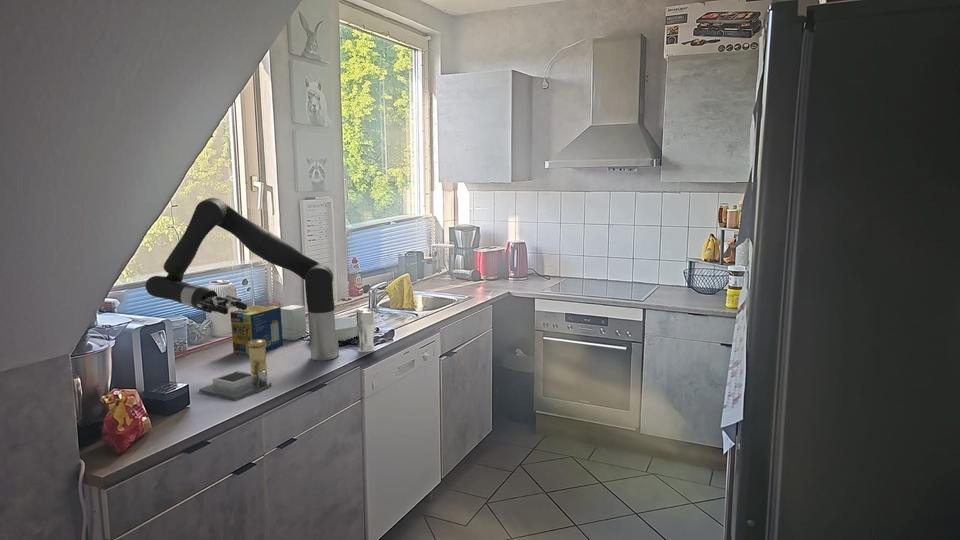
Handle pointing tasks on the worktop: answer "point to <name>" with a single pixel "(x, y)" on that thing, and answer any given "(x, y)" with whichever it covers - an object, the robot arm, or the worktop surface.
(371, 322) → the beer glass
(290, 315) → the supplement box
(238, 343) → the protein box
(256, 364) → the gold metal cylinder
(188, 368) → the worktop surface
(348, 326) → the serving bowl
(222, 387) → the socket plate
